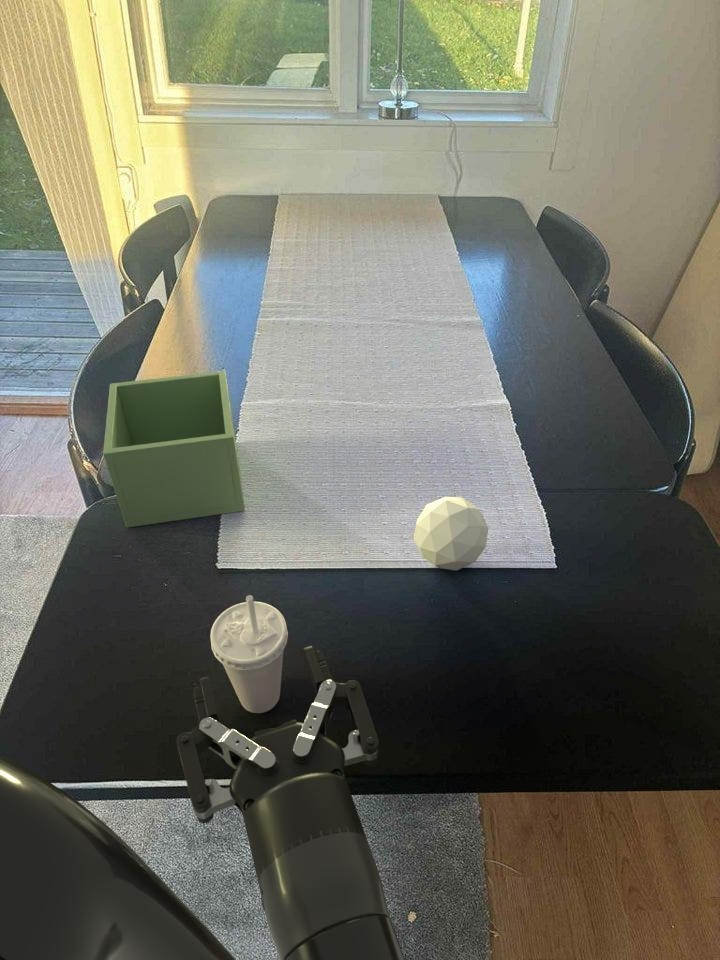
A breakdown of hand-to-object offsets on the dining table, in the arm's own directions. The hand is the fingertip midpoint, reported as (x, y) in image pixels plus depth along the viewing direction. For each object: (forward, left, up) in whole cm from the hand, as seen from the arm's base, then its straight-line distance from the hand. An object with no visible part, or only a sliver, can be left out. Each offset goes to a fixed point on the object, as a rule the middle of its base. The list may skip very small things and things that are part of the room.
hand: (257, 667), depth 57 cm
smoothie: (-1, +2, -8) cm, 8 cm away
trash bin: (-15, +31, -8) cm, 36 cm away
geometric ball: (+17, +20, -8) cm, 28 cm away
